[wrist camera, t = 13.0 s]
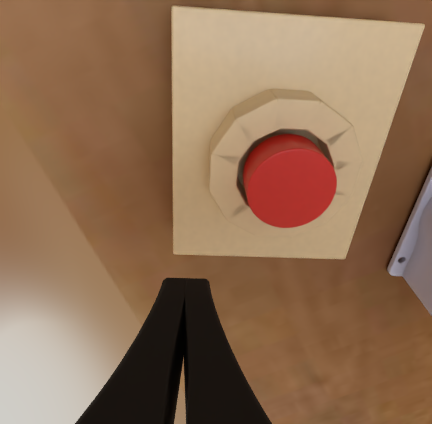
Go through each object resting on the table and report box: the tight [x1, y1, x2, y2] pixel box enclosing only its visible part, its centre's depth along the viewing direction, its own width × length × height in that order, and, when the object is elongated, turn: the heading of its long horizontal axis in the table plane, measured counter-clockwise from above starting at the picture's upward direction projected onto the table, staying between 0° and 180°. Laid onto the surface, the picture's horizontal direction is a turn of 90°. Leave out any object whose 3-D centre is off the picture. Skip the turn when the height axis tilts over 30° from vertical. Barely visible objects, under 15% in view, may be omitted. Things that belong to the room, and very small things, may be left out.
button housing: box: [171, 6, 425, 259], centre depth 17 cm, size 12×10×5 cm
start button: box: [243, 134, 337, 228], centre depth 14 cm, size 4×4×2 cm
